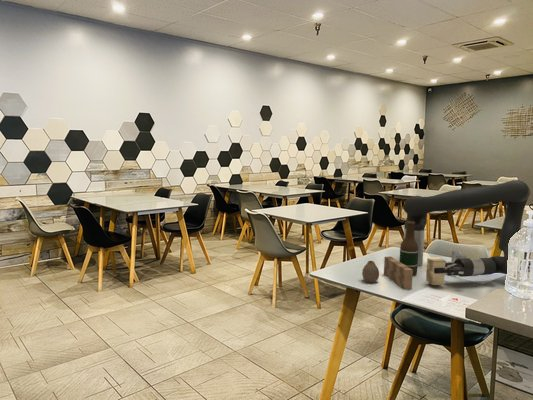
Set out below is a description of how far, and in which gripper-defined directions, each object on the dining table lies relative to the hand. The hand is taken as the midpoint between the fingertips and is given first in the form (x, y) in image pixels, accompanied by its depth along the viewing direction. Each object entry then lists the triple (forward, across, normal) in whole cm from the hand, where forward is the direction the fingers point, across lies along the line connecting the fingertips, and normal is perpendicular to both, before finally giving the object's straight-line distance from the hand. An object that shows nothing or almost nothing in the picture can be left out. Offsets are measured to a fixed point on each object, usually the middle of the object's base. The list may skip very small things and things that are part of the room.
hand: (431, 268), depth 166 cm
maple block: (-2, 0, +6) cm, 6 cm away
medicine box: (-24, -18, +8) cm, 30 cm away
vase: (+22, -8, +8) cm, 25 cm away
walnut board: (+11, -8, +7) cm, 15 cm away
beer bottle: (+1, -16, +8) cm, 18 cm away
